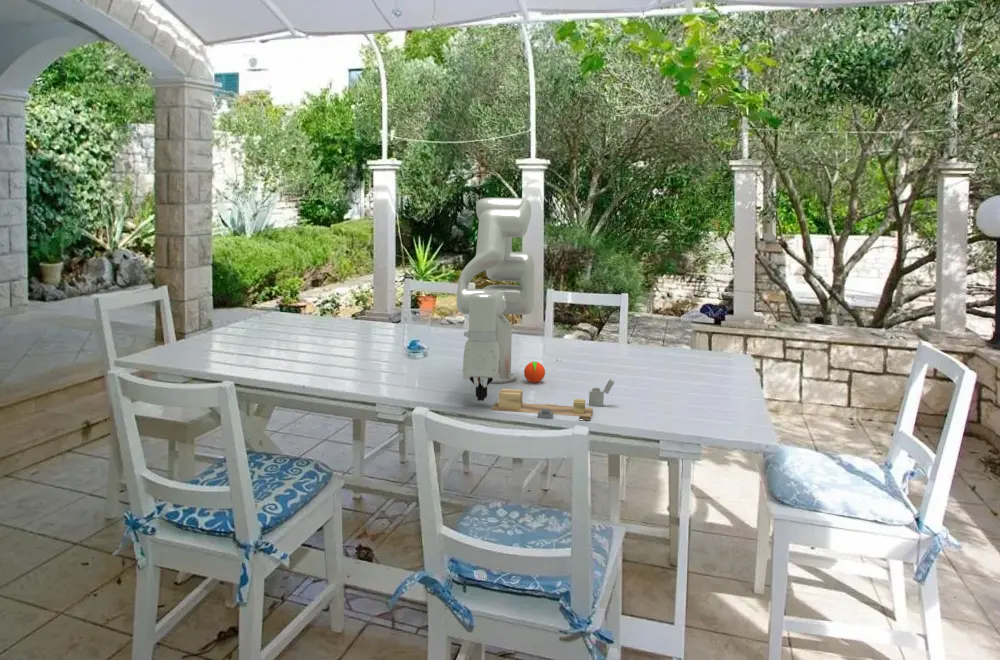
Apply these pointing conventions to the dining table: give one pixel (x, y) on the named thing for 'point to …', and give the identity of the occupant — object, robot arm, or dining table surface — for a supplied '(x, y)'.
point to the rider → (510, 399)
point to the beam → (554, 409)
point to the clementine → (534, 372)
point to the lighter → (599, 394)
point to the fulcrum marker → (545, 414)
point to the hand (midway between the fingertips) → (481, 399)
